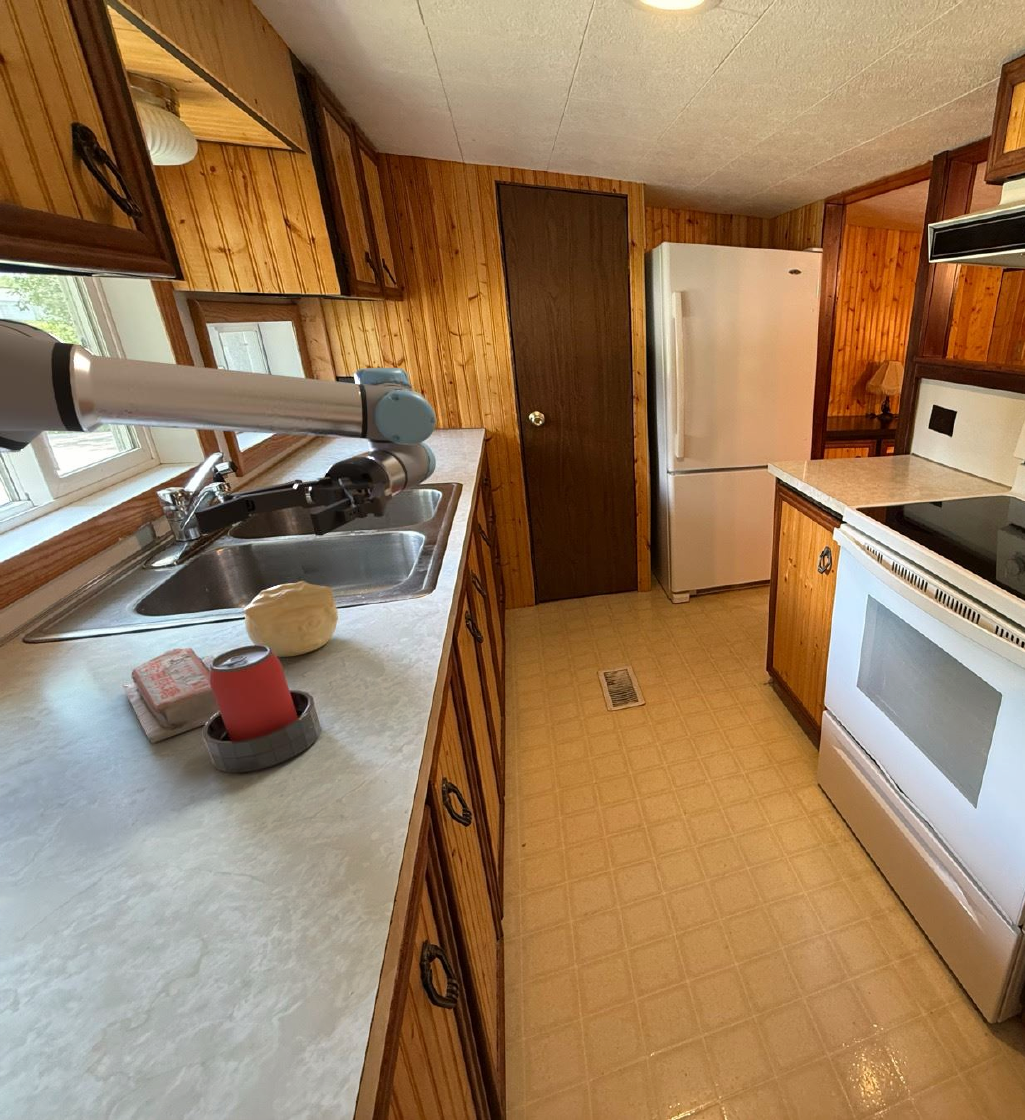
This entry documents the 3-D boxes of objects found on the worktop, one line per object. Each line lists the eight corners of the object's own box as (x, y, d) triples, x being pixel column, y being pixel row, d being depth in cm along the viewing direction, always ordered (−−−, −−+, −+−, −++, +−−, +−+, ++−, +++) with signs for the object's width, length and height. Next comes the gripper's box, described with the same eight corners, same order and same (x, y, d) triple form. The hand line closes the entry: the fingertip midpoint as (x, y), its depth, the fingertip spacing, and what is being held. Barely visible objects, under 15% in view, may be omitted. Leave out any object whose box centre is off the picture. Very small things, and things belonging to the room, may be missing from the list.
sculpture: (267, 674, 88) (245, 608, 84) (246, 647, 95) (225, 584, 91) (354, 645, 96) (338, 584, 92) (329, 622, 103) (313, 564, 99)
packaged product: (241, 678, 78) (137, 713, 71) (252, 709, 80) (151, 747, 73) (205, 635, 89) (111, 662, 82) (215, 663, 91) (124, 692, 83)
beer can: (222, 752, 71) (189, 664, 67) (279, 720, 77) (252, 638, 73) (259, 766, 69) (227, 677, 65) (315, 732, 75) (289, 648, 71)
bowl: (189, 775, 68) (176, 743, 67) (260, 718, 78) (250, 689, 77) (282, 776, 68) (271, 744, 67) (341, 719, 78) (332, 690, 77)
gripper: (451, 505, 92) (370, 555, 73) (289, 503, 92) (164, 552, 72) (443, 457, 90) (356, 494, 70) (275, 454, 89) (142, 491, 70)
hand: (258, 524), depth 71 cm, fingers open, 13 cm apart
